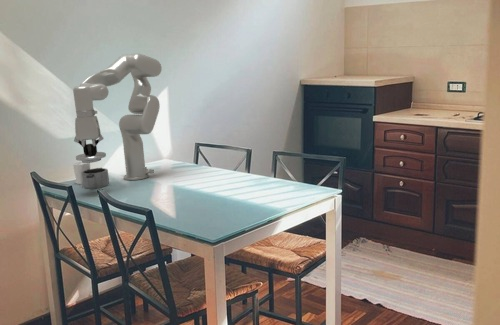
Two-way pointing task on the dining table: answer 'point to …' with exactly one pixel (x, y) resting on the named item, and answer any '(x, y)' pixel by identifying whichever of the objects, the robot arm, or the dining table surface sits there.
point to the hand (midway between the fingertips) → (90, 154)
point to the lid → (90, 155)
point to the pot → (95, 178)
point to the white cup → (80, 170)
